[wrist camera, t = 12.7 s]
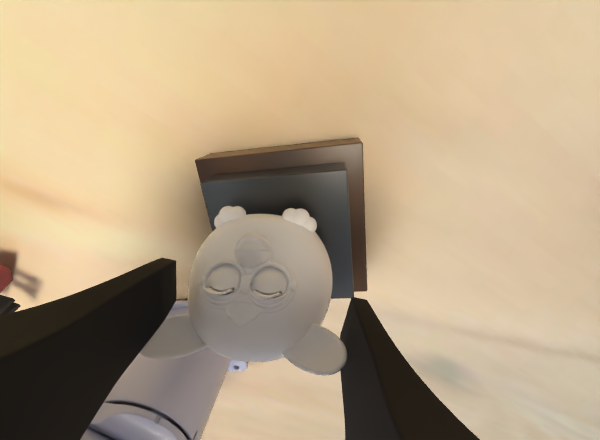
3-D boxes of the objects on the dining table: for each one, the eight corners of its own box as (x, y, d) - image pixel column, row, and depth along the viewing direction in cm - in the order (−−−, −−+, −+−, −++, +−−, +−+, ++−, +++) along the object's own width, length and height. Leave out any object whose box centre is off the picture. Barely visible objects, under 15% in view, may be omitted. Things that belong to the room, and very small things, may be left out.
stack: (239, 276, 23) (218, 314, 19) (210, 153, 19) (177, 166, 15) (363, 271, 21) (371, 311, 17) (358, 137, 18) (366, 147, 14)
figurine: (348, 204, 13) (353, 331, 8) (340, 292, 17) (341, 418, 12) (187, 198, 14) (96, 309, 9) (214, 283, 18) (162, 396, 13)
